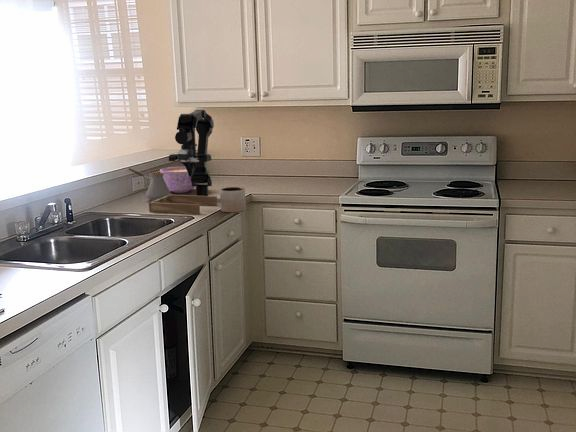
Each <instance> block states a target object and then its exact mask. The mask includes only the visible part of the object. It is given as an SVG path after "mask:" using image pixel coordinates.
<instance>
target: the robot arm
mask: <svg viewBox="0 0 576 432" xmlns="http://www.w3.org/2000/svg"><path fill="white" fill-rule="evenodd" d="M214 123H215V122H214V119H213V118H212V116H211V115H209V114H208V113H207V112H206V110H205V109H195V110H194V111H192V112H190V113H181V114H180V115H179V116H178V121H177V126H176V130H177V132H176V134H175V136H174V140H175V141H176V143H177V144H178V145H181V147H180V148H181V149H179V150H178V151H177V152H176V153H171V154H169V155H168V157H167V158H168V161H169V162H175V161H177V160H178V161H179V162H180V164H182V165H183V167H186V169H187V172H188V174H189V177H191V183H192V186H195V192H196V193H195V196H209V187H212V186H213V181H212V177H211V175H210V171H209V169H208V167H207V163H208V162H210V161H212V155H211V154H210V153H208V145H209V137H210V136H211V135H212V134H213V129H214V126H215V125H214ZM196 132H197V135H198V137H197V139H198V140H197V142H198V144H197V143H196ZM196 147H197V148H196Z"/></svg>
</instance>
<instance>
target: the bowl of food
mask: <svg viewBox="0 0 576 432" xmlns="http://www.w3.org/2000/svg"><path fill="white" fill-rule="evenodd" d="M160 172H161V173H164V174H163V179H164V181H165V183H166V185H167V187H168V189H169V191H170V192H171V191H172V192H173V193H175V194H177V193H178V194H184V193H188V192H190V191H191V190H193V189H194V188H196V186H192V183H191V177H189V174H188V172H187V169H186V167H185V166H170V167H164V168H163V167H162V168H160V169H159V173H160Z"/></svg>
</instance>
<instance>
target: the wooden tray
mask: <svg viewBox="0 0 576 432" xmlns="http://www.w3.org/2000/svg"><path fill="white" fill-rule="evenodd" d="M200 206H218V196H214V195H213V196H212V195H208V196H196V195H193V194H192V195H190V194H189V195H188V194H171V195H168V196H165V197H162V198H160V199H157V200H155V201H149V202H148V209H149V213H166V212H169V213H170V214H189V215H190V214H192V215H193V214H194V215H200V214H201V210H200V209H201V208H200ZM169 213H168V214H169Z"/></svg>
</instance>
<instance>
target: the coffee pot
mask: <svg viewBox="0 0 576 432" xmlns="http://www.w3.org/2000/svg"><path fill="white" fill-rule="evenodd" d="M126 172H127V173H129V172H132V173H134V174H136V175H139V176H141V177H144V178H146V179H147V180H149V181H150V183H149V186H148V189H147V191H146V193H145V195H146V197H147V199H149V201H150V202H152V201H155V200H157V199H160V198H162V197H165V196H168V195H172V193H171V190H169V189H168V187H167V185H166V183H165V181H164V179H163V174H164V173H161V172H160V171H159V172H151V173H150V176H151V177H149V176H147V175H145V174H143V173H141V172H140V171H137V170H134V169H132V168H129V167H128V169H127V170H126Z"/></svg>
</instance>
